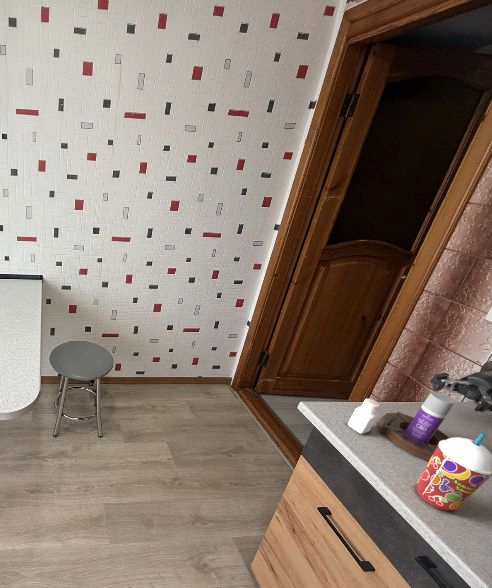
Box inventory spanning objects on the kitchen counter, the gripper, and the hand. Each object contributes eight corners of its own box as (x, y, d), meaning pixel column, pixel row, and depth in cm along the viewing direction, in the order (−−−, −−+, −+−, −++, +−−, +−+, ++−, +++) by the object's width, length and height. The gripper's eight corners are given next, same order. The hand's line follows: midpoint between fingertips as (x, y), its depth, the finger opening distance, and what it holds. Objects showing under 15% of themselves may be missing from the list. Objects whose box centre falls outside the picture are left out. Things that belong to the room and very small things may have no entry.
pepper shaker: (355, 421, 96) (369, 396, 92) (369, 432, 93) (385, 406, 89) (346, 424, 95) (360, 398, 91) (360, 435, 92) (376, 408, 88)
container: (404, 440, 91) (432, 398, 85) (401, 430, 95) (428, 388, 88) (427, 449, 89) (458, 406, 83) (423, 438, 92) (452, 396, 86)
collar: (459, 448, 90) (464, 441, 89) (445, 473, 82) (450, 466, 81) (389, 412, 101) (393, 406, 100) (371, 431, 93) (375, 424, 92)
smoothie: (441, 520, 71) (496, 453, 62) (399, 484, 78) (444, 420, 70) (469, 514, 72) (526, 448, 64) (426, 479, 80) (472, 416, 72)
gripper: (457, 361, 101) (430, 371, 95) (527, 391, 90) (501, 404, 84) (444, 381, 105) (417, 391, 98) (510, 412, 93) (484, 426, 87)
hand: (456, 397), depth 91 cm, fingers open, 8 cm apart
